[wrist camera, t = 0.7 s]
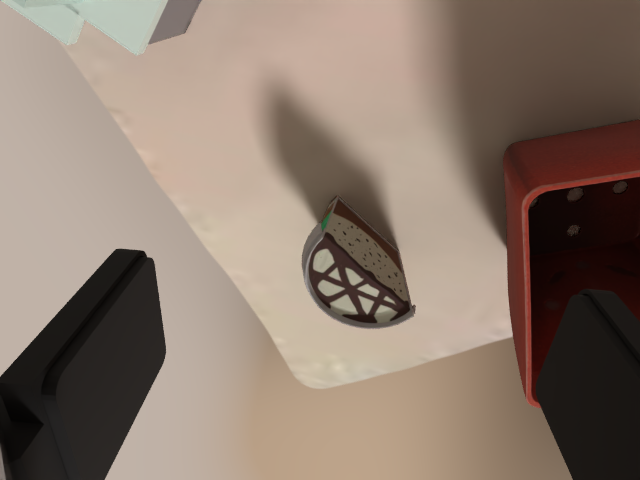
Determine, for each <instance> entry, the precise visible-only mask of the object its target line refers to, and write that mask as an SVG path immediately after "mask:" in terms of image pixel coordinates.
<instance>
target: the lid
mask: <svg viewBox="0 0 640 480" xmlns="http://www.w3.org/2000/svg"><path fill="white" fill-rule="evenodd" d="M1 1H2V2H3V3H5V4H7V5H8V6H9V7H11V8H12V9H14V10H15V11H17V12H18V13H20V14H22V15H23V16H24V17H26V18H27V19H29V20H30V21H32V22H33V23H35V24H36V25H38V26H39V27H41V28H42V29H44V30H45V31H46V32H48V33H49V34H51V35H52V36H54V37H55V38H57V39H58V40H60V41H61V42H63V43H64V44H66V45H70V44H74V43H76V42H77V40H78V37H79V34H80V32H81V29H82V27H83V24H84V22H85V20H86V21H87V22H89V23H90V24H92V25H93V26H94V27H96V28H97V29H99V30H100V31H102V32H103V33H105V34H106V35H107V36H109V37H110V38H112V39H113V40H115V41H116V42H117V43H119V44H120V45H122V46H123V47H125V48H126V49H128V50H129V51H130V52H132V53H133V54H135V55H136V56H137V55H139V54H142V53H144V51H145V49H146V47H147V45H148V43H149V40H150V38H151V36H152V34H153V32H154V30H155V28H156V25H157V23H158V21H159V19H160V17H161V15H162V13H163V10H164V8H165V6H166V4H167V2H168V0H1Z"/></svg>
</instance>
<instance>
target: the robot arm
mask: <svg viewBox="0 0 640 480" xmlns="http://www.w3.org/2000/svg"><path fill="white" fill-rule="evenodd" d="M165 354H166V345H165V337H164V330H163V323H162V315H161V308H160V301H159V293H158V286H157V279H156V271H155V264H154V261H153V259H152V258H148V257H147V255H146V254H145V252H144V251H140V250H129V249H116V250H115V251H114V252H113V253H112V254H111V255H110V256H109V257H108V258H107V259H106V260H105V262H104V263H103V264H102V265H101V266H100V267H99V268H98V269H97V270H96V271H95V273H94V274H93V275H92V276H91V277H90V278H89V279H88V280H87V281H86V283H85V284H84V285H83V286H82V287H81V288H80V289H79V290H78V291H77V293H76V294H75V295H74V296H73V297H72V298H71V299H70V300H69V302H67V304H66V305H65V306H64V307H63V308H62V309H61V310H60V311H59V312H58V314H57V315H56V316H55V317H54V318H53V319H52V320H51V321H50V322H49V323H48V325H47V326H46V327H45V328H44V329H43V330H42V331H41V332H40V333H39V335H38V336H37V337H36V338H35V339H34V340H33V341H32V342H31V343H30V345H29V346H28V347H27V348H26V349H25V350H24V351H23V352H22V353H21V355H20V356H19V357H18V358H17V359H16V360H15V361H14V362H13V363H12V364H11V366H10V367H9V368H8V369H7V370H6V371H5V372H4V373H3V374H2V375H1V377H0V480H105V478H106V476H107V473H108V471H109V469H110V468H111V465H112V464H113V462H114V460H115V458H116V456H117V454H118V452H119V450H120V448H121V446H122V444H123V442H124V440H125V438H126V436H127V434H128V432H129V430H130V428H131V426H132V424H133V422H134V420H135V418H136V416H137V414H138V412H139V410H140V408H141V406H142V404H143V402H144V400H145V398H146V396H147V394H148V392H149V390H150V388H151V386H152V384H153V382H154V380H155V378H156V377H157V374H158V373H159V370H160V369H161V367H162V364H163V362H164V359H165ZM535 389H536V396H537V399H538V402H539V404H540V406H541V408H542V410H543V413H544V415H545V417H546V420H547V422H548V424H549V426H550V429H551V431H552V433H553V435H554V438H555V440H556V442H557V444H558V447H559V449H560V451H561V453H562V456H563V458H564V460H565V463H566V465H567V467H568V469H569V472H570V474H571V476H572V478H573V480H640V321H639V320H638V319H637V318H636V317H635V316H634V314H633V313H632V312H631V311H630V310H629V308H628V307H627V306H626V305H625V304H624V303H623V301H622V300H621V299H620V298H619V297H618V296H617V294H615V293H614V292H612V291H605V290H593V289H583V290H581V291H580V292H579V293H578V295H573V296H572V297H571V298H570V300H569V302H568V304H567V307H566V309H565V312H564V314H563V317H562V319H561V322H560V324H559V327H558V329H557V332H556V334H555V337H554V339H553V342H552V344H551V347H550V349H549V351H548V354H547V356H546V359H545V361H544V364H543V366H542V369H541V371H540V374H539V376H538V379H537V382H536V387H535Z"/></svg>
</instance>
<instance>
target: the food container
mask: <svg viewBox="0 0 640 480" xmlns="http://www.w3.org/2000/svg"><path fill="white" fill-rule="evenodd" d="M302 269H303V276H304V282H305V285H306V288H307V290H308V292H309V294H310V296H311V297H312V299H313V301H314V302H315V303H316V304H317V306H318V307H319V308H320V309H321V310H322V311H323V312H324V313H326V314H327V315H328V316H330V317H331V318H333V319H335V320H337V321H339V322H341V323H343V324H346V325H349V326H353V327H357V328H365V329H380V328H386V327H391V326H394V325H398V324H400V323H402V322H405V321H407V320H409V319H410V318H412V317H414V314H415V307H416V306H415V305H413V306H412V304H411V300H410V296H409V291H408V287H407V283H406V278H405V274H404V270H403V265H402V261H401V257H400V252H399V251H398V250H397V249H396V248H395V247H394V246H393V245H391V244H390V243H389V242H388V241H387V240H386V239H385V238H384V237H383V236H382V235H380V234H379V233H378V232H377V231H376V230H375V229H374V228H373V227H372V226H371V225H369V224H368V223H367V222H366V221H365V220H364V219H363V218H362V217H361V216H360V215H358V214H357V213H356V212H355V211H354V210H353V209H352V208H351V207H350V206H349V205H347V204H346V203H345V202H344V201H343V200H342V199H341V198H340V197H339V196H338V195H337V196H336V197H335V198H334V199H333V200H332V201H331V203H330V204H329V206H328V209H327V211H326V213H325V215H324V217H323V220H322V222H321V223H320V222H319V223H318V224H317V226H316V227H315V228H314V229H313V230H312V232H311V233H310V235H309V236H308V238H307V241H306V243H305V245H304V249H303V253H302Z"/></svg>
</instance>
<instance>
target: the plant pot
mask: <svg viewBox="0 0 640 480" xmlns="http://www.w3.org/2000/svg"><path fill="white" fill-rule="evenodd" d="M503 169H504V183H505V198H506V220H507V270H508V296H509V308H510V317H511V324H512V331H513V339H514V344H515V350H516V355H517V361H518V366H519V371H520V376H521V380H522V385H523V389H524V393H525V397H526V400H527V402H528V403H529V404H530V405H532V406H534V407H536V408H541V406H540V404H539V402H538V399H537V396H536V389H535V387H536V382H537V379H538V376H539V374H540V371H541V369H542V366H543V364H544V361H545V359H546V356H547V354H548V351H549V349H550V347H551V344H552V342H553V339H554V337H555V334H556V332H557V329H558V327H559V324H560V322H561V319H562V317H563V314H564V312H565V309H566V307H567V304H568V302H569V300H570V298H571V297H572V296H573V295H578V293H579V292H580V291H581V290H583V289H593V290H605V291H612V292H614V293H615V294H617V296H618V297H619V298H620V299H621V300H622V301H623V303H624V304H625V305H626V306H627V307H628V308H629V310H630V311H631V312H632V313H633V314H634V316H635V317H636V318H637V319H638V320H639V321H640V120H635V121H629V122H624V123H619V124H613V125H608V126H602V127H597V128H591V129H586V130H580V131H575V132H570V133H564V134H559V135H553V136H548V137H543V138H537V139H532V140H526V141H521V142H516V143H513V144H511V145H510V146H509V147H508V148H507V150H506V151H505V154H504V157H503ZM620 181H625V182H627V183H628V188H627V190H626V191H625V192H624V193H622V194H614V193H613V190H612V189H613V186H614V185H615V184H616V183H618V182H620ZM574 188H582V189H583V190H584V196H583V198H582V199H581V200H580V201H578V202H574V203H573V202H569V201H568V199H567V195H568V193H569V191H570V190H572V189H574ZM536 197H538V198H539V204H538V205H536V206H535V207H534V208H529V205H530V204H531V202H532V201H533V199H534V198H536ZM572 225H579V226H580V227H581V232H580V233H579V234H578V235H577V236H574V237H571V236H568V234H567V229H568V228H569V227H570V226H572Z"/></svg>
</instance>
